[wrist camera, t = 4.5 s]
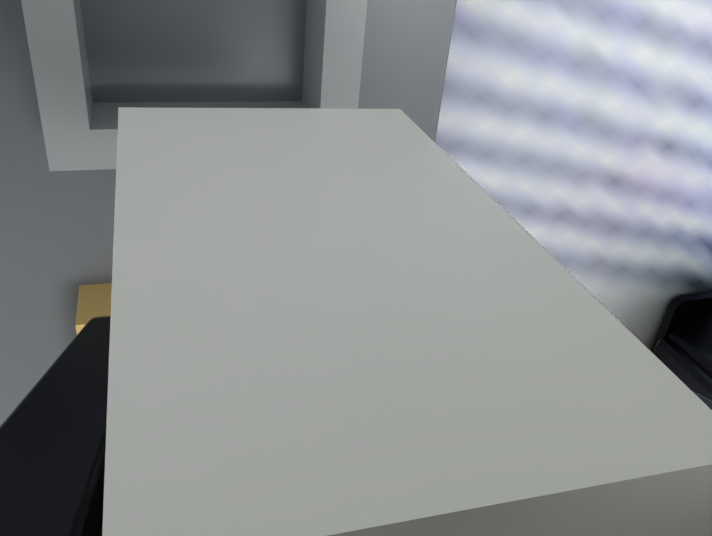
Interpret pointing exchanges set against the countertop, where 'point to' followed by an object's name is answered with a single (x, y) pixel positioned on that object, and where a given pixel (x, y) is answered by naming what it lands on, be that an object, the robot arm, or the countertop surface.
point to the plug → (366, 348)
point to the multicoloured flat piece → (162, 90)
